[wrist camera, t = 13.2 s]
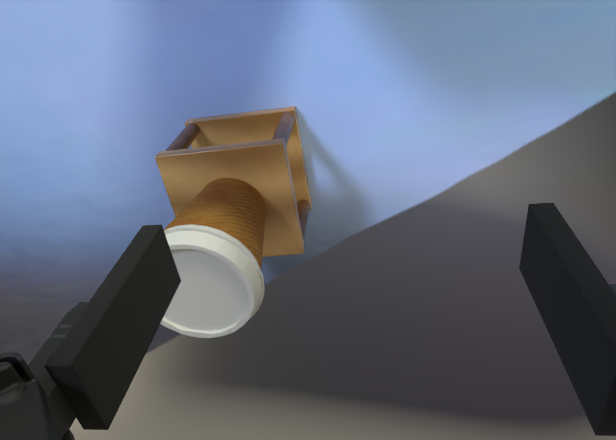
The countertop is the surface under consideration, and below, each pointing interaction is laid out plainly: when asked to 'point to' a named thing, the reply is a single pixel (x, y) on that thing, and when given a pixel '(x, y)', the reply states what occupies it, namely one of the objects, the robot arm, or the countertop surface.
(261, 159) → the oak rack
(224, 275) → the disposable coffee cup
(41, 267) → the countertop surface
